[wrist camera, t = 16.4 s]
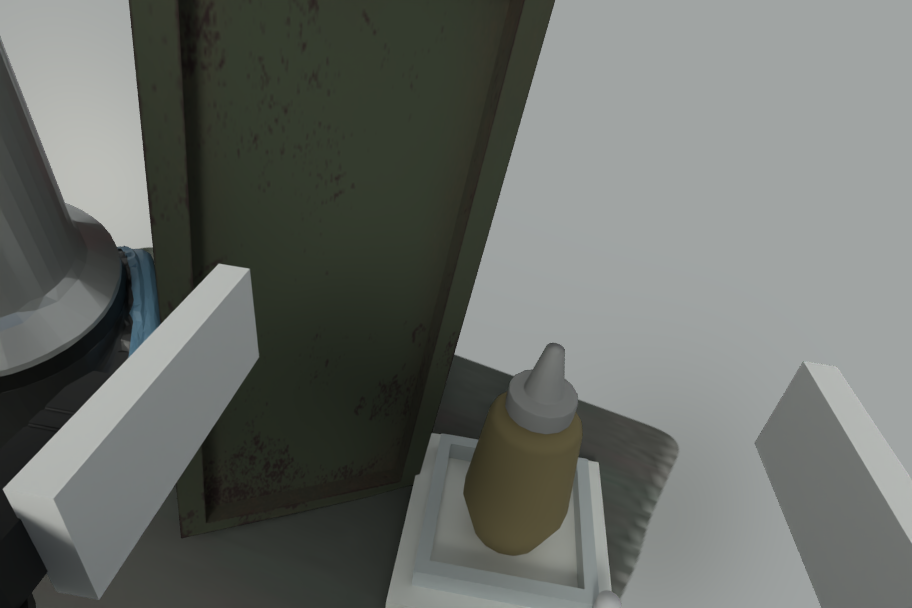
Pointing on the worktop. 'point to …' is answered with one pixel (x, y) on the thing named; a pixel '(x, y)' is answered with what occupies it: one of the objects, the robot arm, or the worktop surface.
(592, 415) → the worktop surface
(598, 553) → the holder plate
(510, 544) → the squeeze bottle
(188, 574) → the worktop surface
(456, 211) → the first aid box
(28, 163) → the robot arm
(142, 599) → the worktop surface
